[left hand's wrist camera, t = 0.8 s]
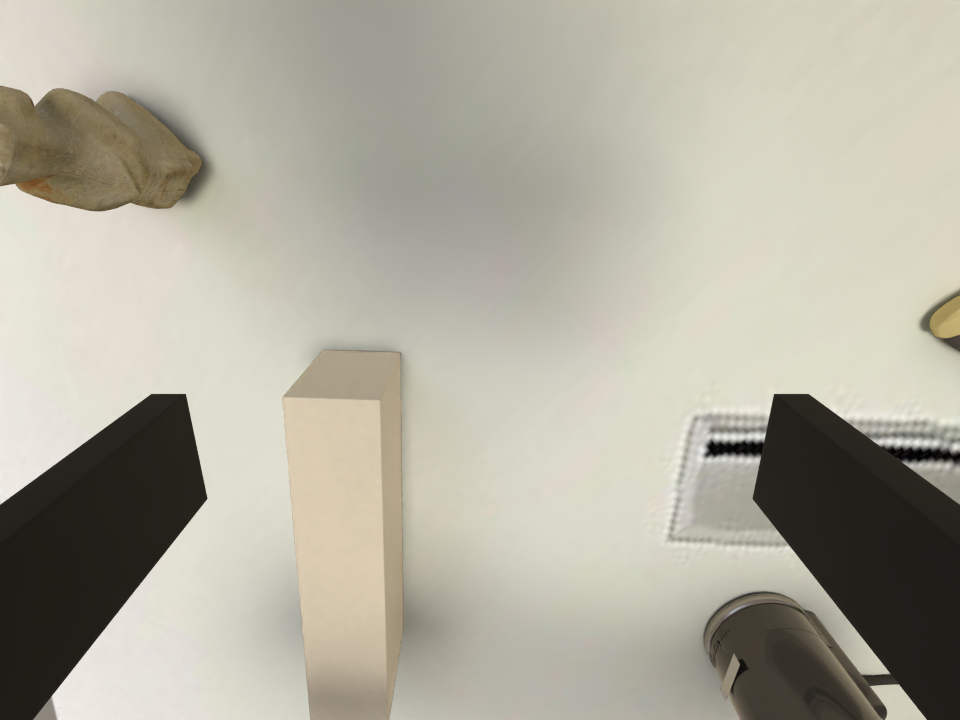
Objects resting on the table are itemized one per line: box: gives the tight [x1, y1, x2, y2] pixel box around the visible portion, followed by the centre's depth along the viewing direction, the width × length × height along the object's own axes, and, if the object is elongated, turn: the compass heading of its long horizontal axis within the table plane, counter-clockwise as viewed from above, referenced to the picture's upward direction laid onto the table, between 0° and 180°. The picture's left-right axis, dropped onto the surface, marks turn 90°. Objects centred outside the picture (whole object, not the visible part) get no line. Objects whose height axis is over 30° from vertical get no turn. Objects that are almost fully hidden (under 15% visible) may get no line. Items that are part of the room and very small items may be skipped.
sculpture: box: [0, 86, 202, 211], centre depth 29 cm, size 6×7×15 cm
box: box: [282, 350, 403, 720], centre depth 41 cm, size 26×6×9 cm, turn 178°
